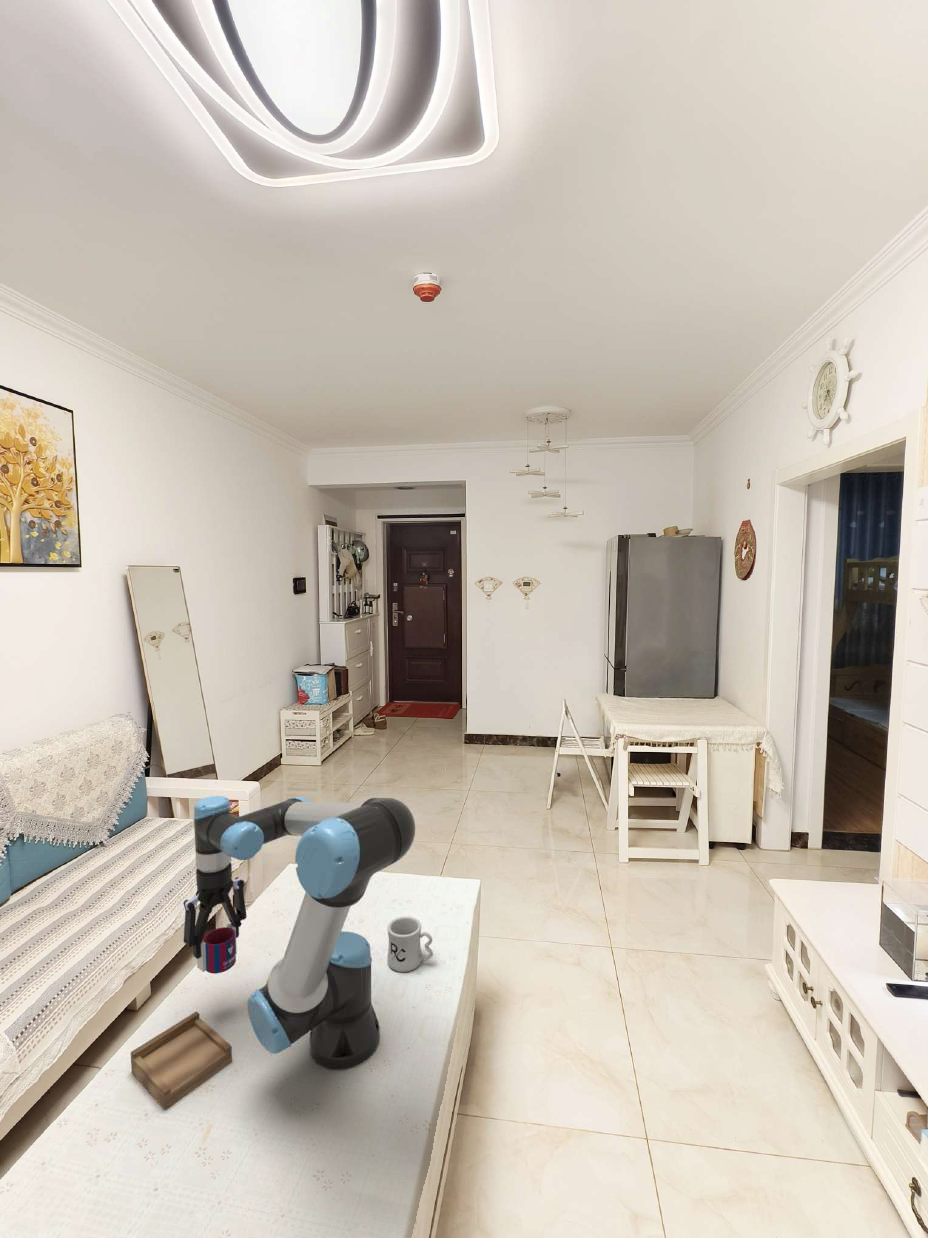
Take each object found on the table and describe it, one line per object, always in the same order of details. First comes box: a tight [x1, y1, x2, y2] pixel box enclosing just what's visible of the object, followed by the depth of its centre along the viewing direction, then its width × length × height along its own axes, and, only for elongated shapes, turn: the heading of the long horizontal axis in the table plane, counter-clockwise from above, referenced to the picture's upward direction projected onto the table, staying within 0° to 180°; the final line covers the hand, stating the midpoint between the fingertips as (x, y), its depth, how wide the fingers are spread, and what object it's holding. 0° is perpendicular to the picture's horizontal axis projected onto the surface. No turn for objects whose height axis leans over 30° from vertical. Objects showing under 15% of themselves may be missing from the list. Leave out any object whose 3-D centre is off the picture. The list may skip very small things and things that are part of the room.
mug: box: [386, 916, 434, 973], centre depth 154 cm, size 12×9×10 cm
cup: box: [203, 926, 237, 974], centre depth 135 cm, size 7×10×7 cm
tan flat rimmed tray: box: [130, 1011, 233, 1111], centre depth 121 cm, size 14×14×4 cm
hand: (217, 960), depth 135 cm, fingers closed on cup, 7 cm apart
